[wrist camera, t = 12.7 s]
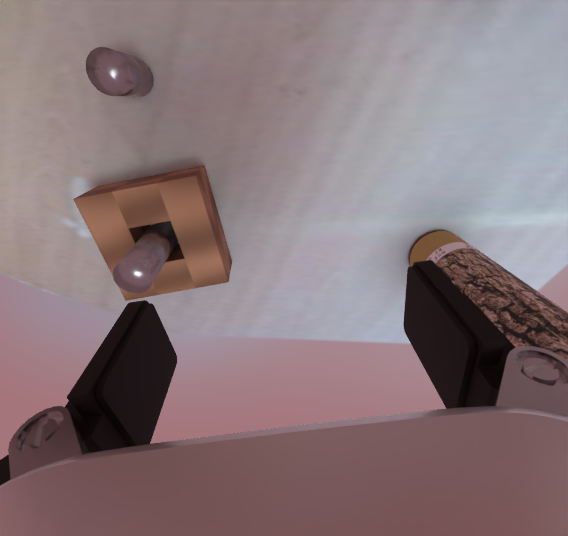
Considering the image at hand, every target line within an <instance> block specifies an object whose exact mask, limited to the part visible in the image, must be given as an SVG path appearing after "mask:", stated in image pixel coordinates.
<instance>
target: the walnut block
mask: <svg viewBox="0 0 568 536" xmlns="http://www.w3.org/2000/svg"><path fill="white" fill-rule="evenodd" d="M74 201H75V203H76V205H77V207H78V209H79V211H80V213H81V215H82V217H83V219H84V221H85V223H86V225H87V226H88V228H89V230H90V232H91V234H92V236H93V238H94V240H95V242H96V244H97V246H98V248H99V250H100V252H101V254H102V256H103V257H104V259H105V261H106V263H107V265H108V267H109V269H110V271H111V273H112V275H113V270H114V268H115V266H116V265H117V264H118V263H119V262H120V261H121V260H122V258H123V257H124V256H125V255H126V254H127V253H128V252H129V250H130V249H131V248H132V247H133V246H134V245H135V244H136V243H137V241H138V240H139V239H140V238H141V237H142V236H143V235H144V233H145V232H146V231H147V230H148V229H149V228H150V224H155V223H161V222H166V221H171V223H172V226H173V228H174V231H175V234H176V237H177V239H178V242H179V243H177V244H176V245H175V247H174V249H173V250H172V252H171V254H170V255H169V257H168V259H167V260H166V262H165V264H164V265H163V267H162V269H161V270H160V272H159V274H158V275H157V277H156V279H155V280H154V282H153V284H152V285H151V287H150V288H149V289H148V290H147V291H145V292H142V293H130V292H127V291H125V290H123V289H122V288H120V287H119V286H118V287H119V288H120V290H121V292H122V294H123V296H124V298H125V300H132V299H137V298H143V297H149V296H154V295H160V294H165V293H171V292H176V291H182V290H187V289H193V288H198V287H204V286H209V285H215V284H221V283H226V282H228V281H229V276H230V270H231V265H232V260H231V256H230V253H229V249H228V246H227V242H226V239H225V235H224V232H223V228H222V225H221V222H220V218H219V215H218V211H217V208H216V204H215V201H214V197H213V194H212V190H211V187H210V183H209V180H208V176H207V173H206V169H205V166H202V167H196V168H191V169H186V170H181V171H176V172H170V173H165V174H160V175H155V176H149V177H144V178H139V179H134V180H129V181H123V182H118V183H113V184H108V185H103V186H98V187H96V188H94V189H92V190H90V191H88V192H86V193H84V194H82V195H80V196H79V197H77V198H75V199H74Z"/></svg>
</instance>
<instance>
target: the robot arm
mask: <svg viewBox="0 0 568 536" xmlns="http://www.w3.org/2000/svg"><path fill="white" fill-rule="evenodd" d="M404 330H405V333H406V335H407V337H408V339H409V341H410V342H411V344H412V346H413V348H414V350H415V352H416V353H417V355H418V357H419V359H420V361H421V363H422V364H423V366H424V368H425V370H426V372H427V374H428V375H429V377H430V379H431V381H432V383H433V385H434V386H435V388H436V390H437V392H438V394H439V396H440V397H441V399H442V401H443V403H444V405H445V407H446V409H439V410H430V411H420V412H409V413H400V414H391V415H383V416H376V417H375V416H374V417H366V418H357V419H348V420H340V421H331V422H323V423H314V424H306V425H298V426H290V427H282V428H273V429H265V430H257V431H249V432H240V433H233V434H224V435H216V436H209V437H201V438H193V439H185V440H177V441H170V442H162V443H154V444H150V441H151V439H152V436H153V433H154V430H155V426H156V424H157V420H158V418H159V415H160V412H161V408H162V406H163V402H164V400H165V397H166V394H167V391H168V388H169V385H170V382H171V379H172V376H173V373H174V370H175V367H176V364H177V355H176V353H175V351H174V348H173V346H172V344H171V342H170V341H169V338H168V335H167V333H166V331H165V329H164V327H163V324H162V322H161V320H160V318H159V316H158V314H157V311H156V309H155V307H154V305H153V304H149V303H148V302H147V301H145V300H144V301H137V302H130V303H128V304H127V306H126V307H125V309H124V310H123V312H122V314H121V315H120V317H119V318H118V320H117V321H116V323H115V324H114V326H113V327H112V329H111V330H110V332H109V334H108V335H107V337H106V338H105V340H104V341H103V343H102V344H101V346H100V347H99V349H98V350H97V352H96V354H95V355H94V357H93V358H92V360H91V361H90V363H89V364H88V366H87V367H86V369H85V370H84V372H83V374H82V375H81V376H80V378H79V380H78V381H77V383H76V384H75V386H74V387H73V389H72V390H71V392H70V393H69V395H68V396H67V398H68V400H69V402H68V403H67V405H66V406H65V407H63V406H54V407H51V408H47V409H45V410H43V411H41V412H39V413H37V414H36V415H34V416H33V417H31V418H30V419H28V420H27V421H26V422H25V423H24V424H23V425H22V426H21V427H20V428H19V429H18V430H17V431H16V433H15V434H14V435H13V437H12V439H11V441H10V443H9V449H8V451H9V455H7V456H6V457H4V458H3V459H1V460H0V536H568V361H567V360H566V359H565V358H563V357H561V356H559V355H558V354H556V353H554V352H551V351H549V350H546V349H543V348H539V347H534V346H521V347H515V346H514V345H513V344H512V343H511V342H510V341H509V340H508V339H507V338H506V336H505V335H504V334H503V333H502V332H501V331H500V330H499V329H498V328H497V327H496V326H495V325H494V324H493V323H492V321H491V320H490V319H489V318H488V317H487V316H486V315H485V314H484V313H483V312H482V311H481V310H480V309H479V308H478V306H477V305H476V304H475V303H474V302H473V301H472V300H471V299H470V298H469V297H468V296H467V295H466V294H464V293H462V292H461V291H460V290H459V289H458V288H457V287H456V286H455V285H454V283H453V282H452V281H451V280H450V279H449V278H448V277H447V276H446V275H445V274H444V273H443V272H442V270H441V269H440V268H439V267H438V266H437V265H436V264H435V263H434V262H433V261H432V260H426V261H419V262H414V263H413V266H412V267H409V268H408V273H407V286H406V299H405V312H404Z"/></svg>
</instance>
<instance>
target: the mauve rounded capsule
mask: <svg viewBox="0 0 568 536" xmlns="http://www.w3.org/2000/svg"><path fill="white" fill-rule="evenodd" d="M86 71H87V74H88V77H89V79H90V81H91V82H92V84H93V85H94V86H95V87H96V88H97V89H98V90H99V91H101V92H102V93H104V94H107V95H111V96H138V97H141V96H145V95H147V94H148V93H149V92H150V91H151V89H152V87H153V76H152V73H151V70H150V68H149V67H148V66H147V64H146V63H145V62H143V61H142V60H140V59H138V58H136V57H133V56H130V55H127V54H124V53H121V52H118V51H115V50H112V49H109V48H105V47H99V48H96V49H94V50H92V51H91V52H90V53H89V55H88V57H87V60H86Z"/></svg>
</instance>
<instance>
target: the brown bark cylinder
mask: <svg viewBox="0 0 568 536" xmlns="http://www.w3.org/2000/svg"><path fill="white" fill-rule="evenodd" d="M426 260H432V261H433V262H434V263H435V264H436V265H437V266H438V267H439V268H440V269H441V270H442V272H443V273H444V274H445V275H446V276H447V277H448V278H449V279H450V280H451V281H452V282H453V283H454V285H455V286H456V287H457V288H458V289H459V290H460V291H461V292H462V293H464V294H466V295H467V296H468V297H469V298H470V299H471V300H472V301H473V302H474V303H475V304H476V305H477V306H478V308H479V309H480V310H481V311H482V312H483V313H484V314H485V315H486V316H487V317H488V318H489V319H490V320H491V321H492V323H493V324H494V325H495V326H496V327H497V328H498V329H499V330H500V331H501V332H502V333H503V334H504V335H505V336H506V338H507V339H508V340H509V341H510V342H511V343H512V344H513V345H514V346H515V347H521V346H534V347H539V348H543V349H546V350H549V351H551V352H554V353H556V354H558V355H559V356H561V357H563V358H565V359H566V360H567V361H568V313H567V312H566V311H565V310H563V309H562V308H561V307H559V306H558V305H556V304H555V303H553V302H552V301H550V300H549V299H548V298H546V297H545V296H543V295H542V294H540V293H539V292H537V291H536V290H535V289H533V288H532V287H530V286H529V285H527V284H526V283H524V282H523V281H522V280H520V279H519V278H517V277H516V276H514V275H513V274H512V273H510V272H509V271H507V270H506V269H504V268H503V267H501V266H500V265H499V264H497V263H496V262H494V261H493V260H491V259H490V258H488V257H487V256H486V255H484V254H483V253H481V252H480V251H478V250H477V249H475V248H474V247H473V246H471V245H469V244H468V243H466V242H465V241H464V240H462V239H461V238H459V237H458V236H456V235H455V234H453V233H451V232H448V231H436V232H433V233H430V234H427V235H426V236H424V237H422V238H421V239H420V240H419V241H418V242H417V243H416V244H415V246H414V247H413V249H412V251H411V254H410V266H411V267H412V266H413V263H414V262H419V261H426Z"/></svg>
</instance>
